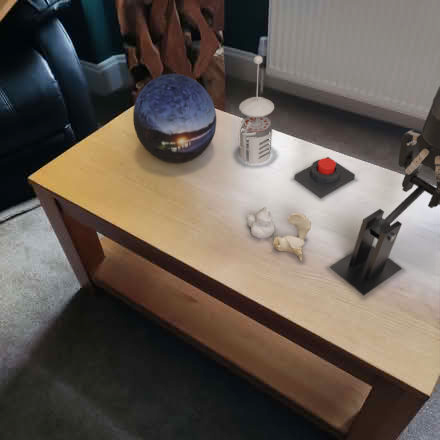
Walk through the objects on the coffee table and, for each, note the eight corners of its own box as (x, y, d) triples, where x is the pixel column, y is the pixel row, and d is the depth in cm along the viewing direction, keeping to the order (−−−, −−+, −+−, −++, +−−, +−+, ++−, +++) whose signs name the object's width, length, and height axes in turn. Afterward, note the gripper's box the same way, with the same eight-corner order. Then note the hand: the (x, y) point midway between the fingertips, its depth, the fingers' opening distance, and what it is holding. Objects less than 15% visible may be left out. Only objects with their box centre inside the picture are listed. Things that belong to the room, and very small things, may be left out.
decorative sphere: (233, 152, 112) (232, 75, 96) (177, 190, 104) (166, 113, 88) (181, 125, 121) (172, 50, 105) (126, 158, 112) (107, 81, 96)
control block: (326, 164, 108) (329, 150, 105) (353, 182, 103) (356, 168, 100) (293, 181, 104) (295, 168, 101) (320, 201, 100) (322, 187, 96)
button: (325, 162, 103) (327, 155, 101) (338, 170, 101) (339, 164, 99) (313, 168, 101) (314, 162, 100) (325, 177, 99) (327, 170, 98)
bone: (284, 269, 86) (278, 220, 82) (269, 261, 91) (263, 216, 88) (321, 258, 88) (316, 210, 84) (304, 251, 94) (299, 206, 90)
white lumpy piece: (266, 246, 92) (268, 219, 85) (240, 234, 94) (240, 206, 88) (279, 231, 94) (282, 203, 88) (254, 220, 97) (255, 192, 90)
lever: (415, 179, 79) (416, 172, 77) (439, 193, 77) (440, 186, 74) (364, 229, 79) (363, 223, 77) (385, 245, 77) (385, 239, 75)
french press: (281, 153, 111) (290, 52, 91) (257, 177, 106) (262, 75, 86) (248, 141, 115) (250, 41, 95) (224, 164, 109) (221, 63, 89)
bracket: (366, 246, 91) (383, 195, 80) (400, 272, 86) (424, 221, 75) (328, 271, 87) (341, 221, 76) (362, 299, 83) (381, 250, 72)
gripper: (515, 121, 63) (466, 209, 77) (433, 84, 70) (401, 170, 84) (485, 140, 61) (439, 228, 74) (402, 99, 68) (375, 185, 81)
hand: (419, 197), depth 79 cm, fingers closed on lever, 5 cm apart
